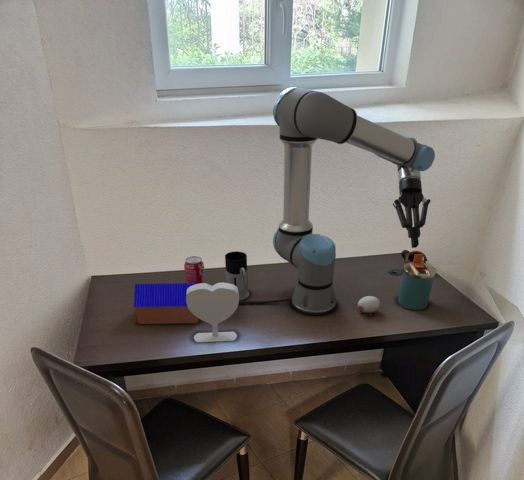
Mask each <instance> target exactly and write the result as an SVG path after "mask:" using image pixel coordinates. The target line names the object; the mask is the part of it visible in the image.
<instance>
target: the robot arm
mask: <svg viewBox="0 0 524 480" xmlns="http://www.w3.org/2000/svg"><path fill="white" fill-rule="evenodd" d="M272 115H273V116H272V117H273V120H274V122H275V123H276V125H277V127H279V137H278V139H279V141H280V142H281V143H282V144H283V154H284V155H283V157H284V158H283V205H282V206H283V207H282V208H283V211H282V220H281V221H280V222H279V223H278V227H277V229H276V231H275V232H274V234H273V237H272V245H273V249H274V250H275V252H276V253H277V254H278V255H279V257H280V258H282V260H284V261H286V262H287V263H289V264H290V265H292V266H293V267H294V268H296V269H297V270H298V275H297V284H296V287H295V289H294V291H293V294H292V295H291V298H282V299H281V298H280V299H273V300H272V299H270V300H239V303H238V305H239V304H241V305H242V304H272V303H280V302H281V303H282V302H291V306H292V307H293V308H294V309H295V310H296V311H297V312H299V313H301V314H304V315H309V316H310V315H311V316H321V315H326V314H329V313H332V311H334V310H335V308H336V304H337V297H336V295H338V290H336V293H335V291H334V287H333V282H334V272H335V263H336V257H337V253H336V244H335V242H334V241H333V239H331V238H330V237H329V236H327V235H325V234H324V235H322V234H320V233H313V232H314V231H313V228H314V225H313V222H312V221H311V220H310V199H311V177H312V159H313V158H312V156H313V155H312V153H313V145H314V143H315V142H317V140H323V141H328V142H333V143H335V144H338V145H344V144H348V145H351V146H354V147H356V148H359V149H361V150H364V151H366V152H369V153H370V154H371V153H372V154H374V155H375V156H376V157H378V158H380V159H382V160H383V159H384V161H388V162H390V163H392V164H394V165H396V168H397V180H398V192H399V196H398V198H397V199H394V201H393V202H392V206H393V207H394V209H395V210H396V214H397V216H398V220H399V222H400V225H401V226H400V227H401V228H403V229H405V230H406V231H407V237H408V238H409V239H410V243H411V248H412V249H417V247H418V246H419V243H420V242H419V238H420V237H421V229H422V228H423V227H424V226H425V225H426V222H427V221H426V220H427V214H428V208H429V204H430V203H431V201H432V200H431V199H430V198H425V197H424V194H423V187H422V176H421V175H422V174H421V172H426V171H427V170H429V169H430V168H431V167H432V165H433V163H434V161H435V159H436V152H435V150H434V148H433V147H432V146H430V145H427V144H423V143H420V142H418V141H417V139H416V138H414V137H409V136H404V135H402V134H400V133H398V132H395V131H394V130H391V129H389V128H387V127H384V126H382V125H380V124H378V123H376V122H373V121H371V120H368V119H367V118H364V117H362V116H360V115H358V114H357V111H356V109H354V108H352V107H350V106H348V105H346V104H345V103H343V102H341V101H339V100H338V99H336V98H334V97H332V96H330V95H329V94H326V93H325V92H322V91H318V90H317V91H315V90H312V89H308V88H305V87H299V86H297V87H294V86H292V87H288V88H285V89H284V90H283V91H281V92H280V93H279V95H278V96H277V97H276V99H275V101H274V104H273V108H272ZM420 204H421V206H422V208H421V213H420ZM403 207H404V208H403Z"/></svg>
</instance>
